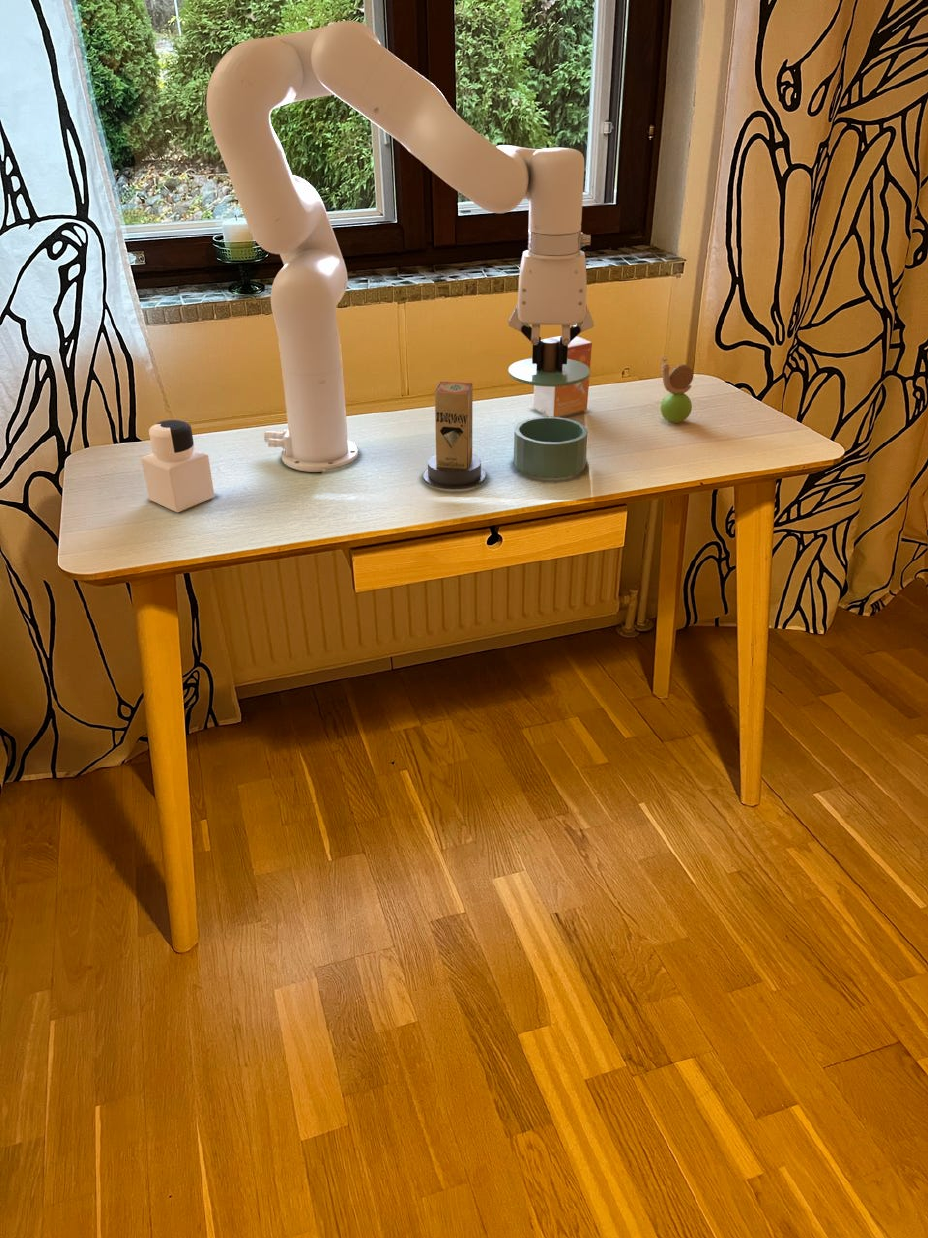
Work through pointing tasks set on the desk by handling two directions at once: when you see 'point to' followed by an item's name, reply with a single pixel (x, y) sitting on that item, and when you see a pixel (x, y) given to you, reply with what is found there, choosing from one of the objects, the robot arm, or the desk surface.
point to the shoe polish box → (453, 425)
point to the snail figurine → (676, 392)
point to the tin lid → (549, 369)
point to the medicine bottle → (176, 467)
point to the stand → (454, 475)
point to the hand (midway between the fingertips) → (549, 367)
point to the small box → (569, 396)
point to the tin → (550, 447)
